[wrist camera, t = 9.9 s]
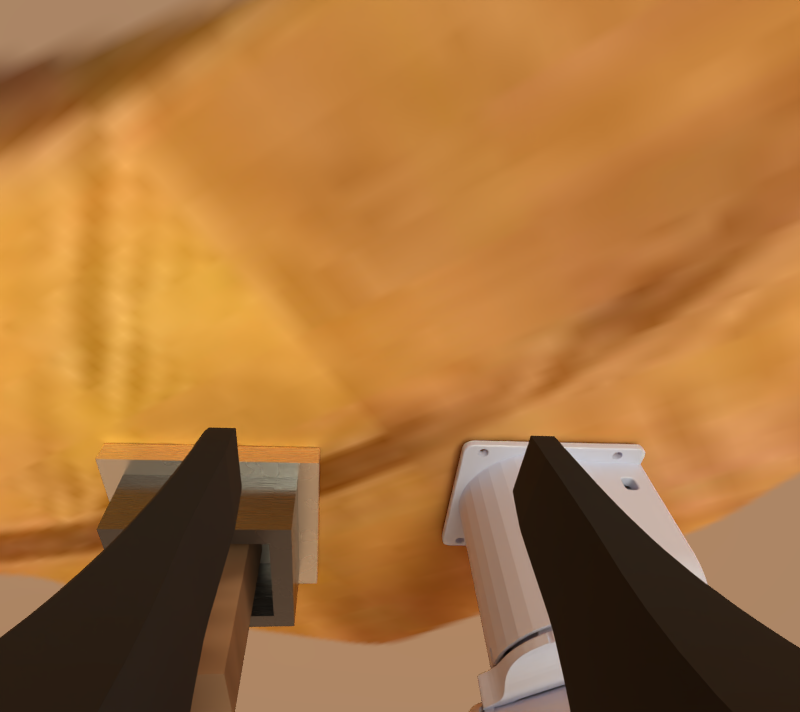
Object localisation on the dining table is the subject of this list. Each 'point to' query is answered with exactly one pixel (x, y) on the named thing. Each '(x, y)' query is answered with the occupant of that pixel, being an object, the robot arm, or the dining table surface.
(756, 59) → the dining table surface
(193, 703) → the rail post
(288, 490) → the grey square socket
